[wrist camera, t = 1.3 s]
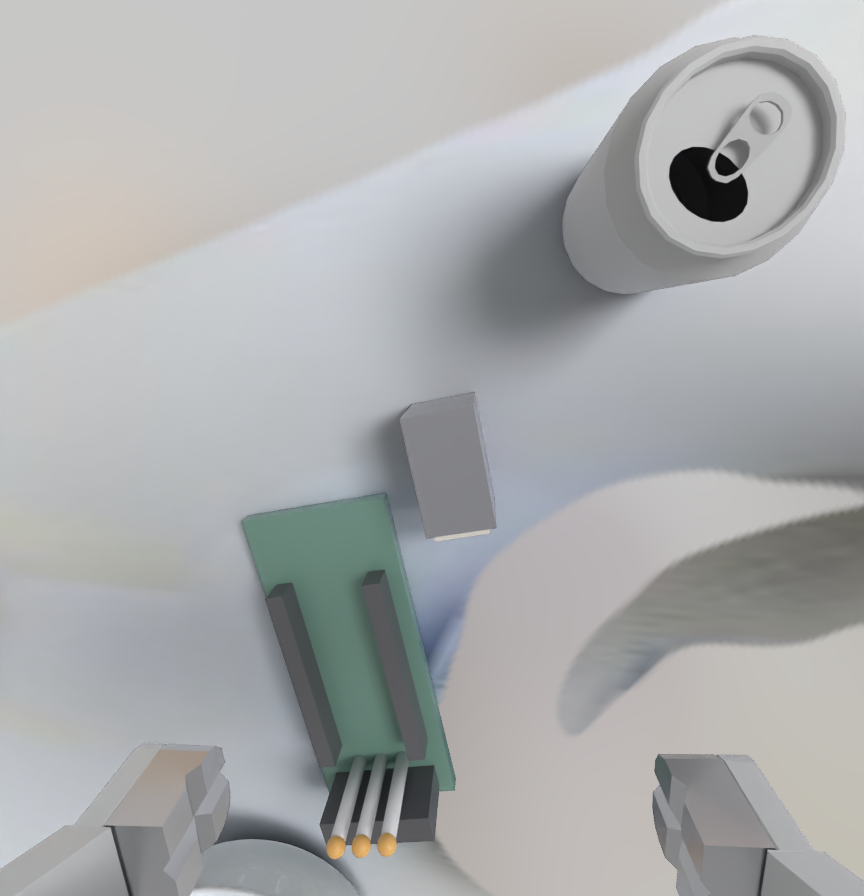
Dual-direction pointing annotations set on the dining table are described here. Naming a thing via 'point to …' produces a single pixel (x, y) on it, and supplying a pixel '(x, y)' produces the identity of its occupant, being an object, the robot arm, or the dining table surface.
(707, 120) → the can
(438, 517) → the plug
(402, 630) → the header board
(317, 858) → the serving bowl
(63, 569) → the dining table surface
